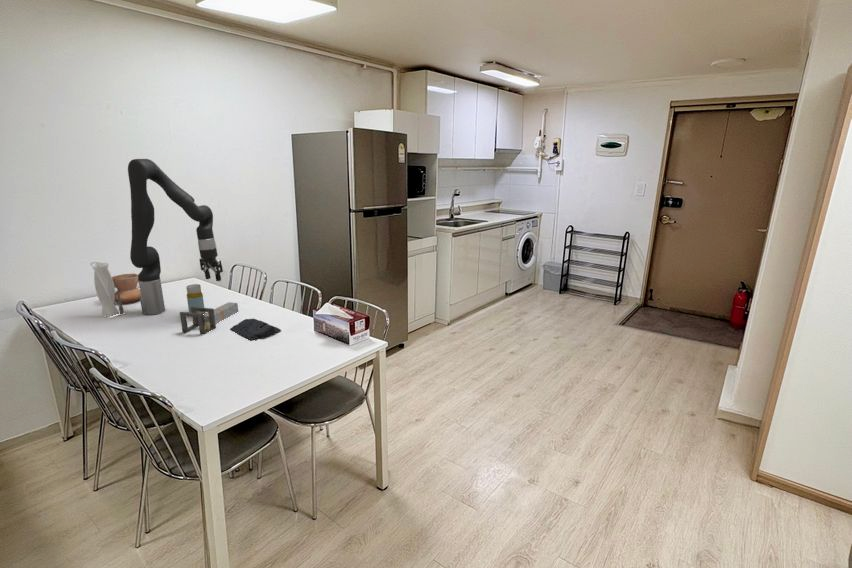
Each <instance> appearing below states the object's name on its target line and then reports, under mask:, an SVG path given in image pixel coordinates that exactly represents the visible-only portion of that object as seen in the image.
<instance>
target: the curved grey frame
mask: <svg viewBox="0 0 852 568" xmlns="http://www.w3.org/2000/svg"><path fill="white" fill-rule="evenodd" d="M197 311H201V312H205V313H209V321H210V323H205V324H204V317H203V314H200V313H197ZM179 317H180V325H181V331H182V333H183V332H184V333H183V334H186V333H189V332H191V331H192V330H195V329H197V328H198V330H199V335H202V334H204V335H206V334H208V333H210V332H212V331H213V330H216V329H217V324H216V323H215V316H214V308H211V307H209V308H208V307H204V308H201V307H191V313H190V312H189V311H187V312H186V311H180V312H179ZM187 317H188V318H189V317H190V318H191V319H192V325H190V326H188V322H187V321H188V320H187ZM198 326H199V327H198ZM196 327H197V328H196ZM211 330H212V331H211ZM209 331H210V332H209ZM207 332H208V333H207Z"/></svg>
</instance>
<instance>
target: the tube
mask: <svg viewBox="0 0 852 568" xmlns="http://www.w3.org/2000/svg"><path fill="white" fill-rule="evenodd" d="M213 309H214V308H213ZM237 312H238V313H239V305H238V302H231V301H230V302H226V303H224V304H222V305H220V306H218V307H216V308H215V309H214V316H215V323H216V325H218V324H220V323H221V322H223V321H225V320H227V319H228V317H229V318H230V316H231V315H232V316H234V315H236V314H238V313H237ZM235 313H236V314H235ZM233 314H234V315H233ZM232 316H231V317H232ZM203 317H204V324H205V323H210V321H209V313H208V312H205V313H204V315H203ZM226 318H227V319H226ZM224 319H225V320H224ZM222 320H223V321H222ZM220 321H221V322H220ZM219 322H220V323H219ZM217 323H218V324H217Z"/></svg>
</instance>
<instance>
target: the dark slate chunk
mask: <svg viewBox="0 0 852 568" xmlns="http://www.w3.org/2000/svg"><path fill="white" fill-rule="evenodd" d="M229 330H230V331H231V332H233V333H234V332H235V334H236V333H237V334H236V335H238V336H239V337H242V338H244V339H246V340H247V339H248V340H247V341H249V340H250V341H249V342H251V341H254V340H255V341H259V340H261V339H267V338H269V337H273V336H275V335H276V334H278V333H280V332H282V329H280V328H279V327H276V326H274V325H270V324H268V323H267V322H265V321H262V320H260V319H259V320H258V319H256V318H246V319H243V320H242V321H240V322H238V323H237V324H235V325H233V326H232V327H231V328H229ZM258 339H259V340H258ZM255 341H254V342H255Z"/></svg>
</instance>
